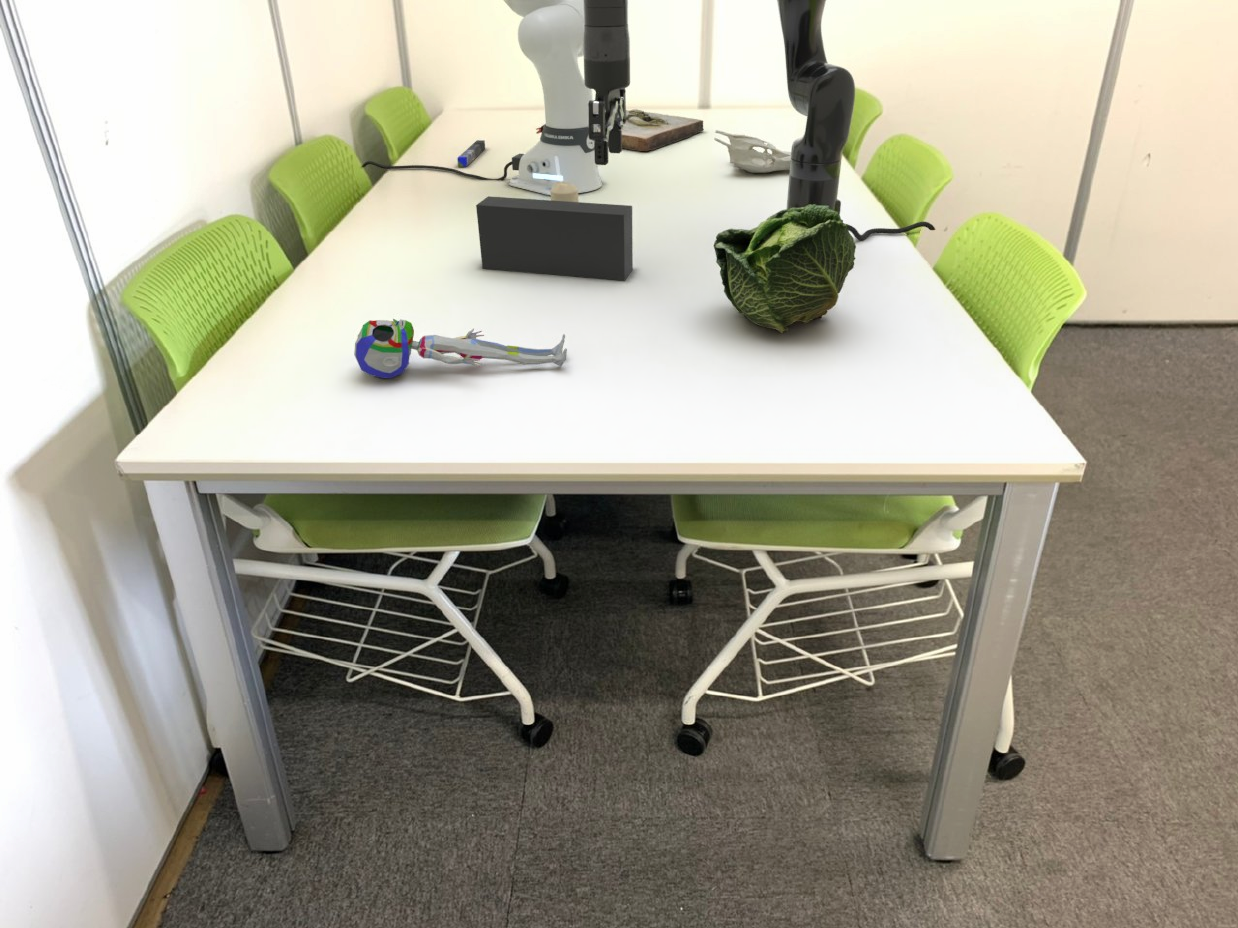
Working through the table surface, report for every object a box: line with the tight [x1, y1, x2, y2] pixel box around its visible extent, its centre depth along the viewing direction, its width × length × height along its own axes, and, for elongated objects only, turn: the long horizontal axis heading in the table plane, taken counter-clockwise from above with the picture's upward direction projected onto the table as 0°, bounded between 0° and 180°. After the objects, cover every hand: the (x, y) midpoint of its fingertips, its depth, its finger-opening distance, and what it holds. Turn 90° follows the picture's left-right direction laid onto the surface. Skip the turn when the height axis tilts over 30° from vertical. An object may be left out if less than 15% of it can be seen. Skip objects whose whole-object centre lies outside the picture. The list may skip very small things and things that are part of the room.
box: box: [475, 196, 634, 282], centre depth 164 cm, size 28×6×12 cm, turn 75°
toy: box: [353, 318, 568, 379], centre depth 130 cm, size 10×8×30 cm
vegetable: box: [713, 204, 857, 334], centre depth 140 cm, size 20×19×20 cm
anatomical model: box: [714, 130, 791, 174], centre depth 222 cm, size 15×9×25 cm
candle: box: [550, 181, 579, 202], centre depth 182 cm, size 6×6×10 cm
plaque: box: [598, 108, 705, 152], centre depth 257 cm, size 30×7×30 cm
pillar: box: [456, 139, 486, 168], centre depth 239 cm, size 2×2×20 cm
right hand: (608, 158), depth 153 cm, fingers open, 8 cm apart
